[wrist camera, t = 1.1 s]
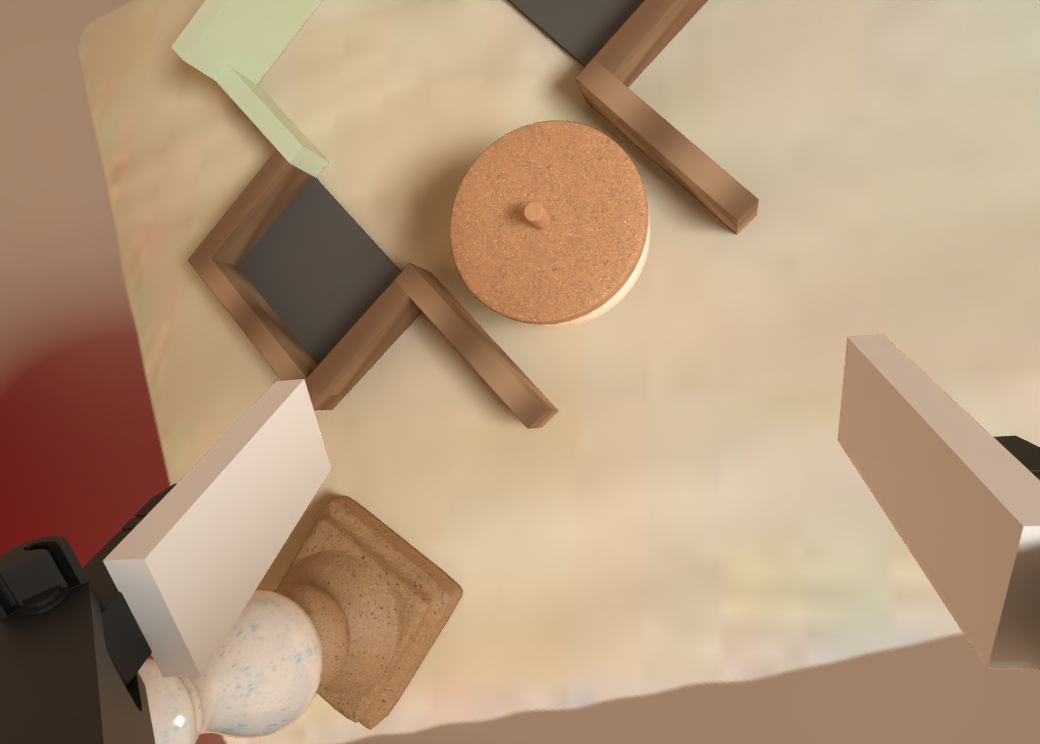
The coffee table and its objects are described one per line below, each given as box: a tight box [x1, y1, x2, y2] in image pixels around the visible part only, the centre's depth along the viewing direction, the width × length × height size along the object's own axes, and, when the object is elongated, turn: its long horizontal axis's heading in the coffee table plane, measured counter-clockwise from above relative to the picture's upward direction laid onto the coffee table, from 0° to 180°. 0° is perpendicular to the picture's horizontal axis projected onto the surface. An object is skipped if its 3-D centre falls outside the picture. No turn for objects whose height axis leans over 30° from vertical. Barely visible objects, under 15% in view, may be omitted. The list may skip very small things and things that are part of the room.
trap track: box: [171, 0, 758, 429], centre depth 41 cm, size 36×39×6 cm
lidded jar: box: [450, 121, 650, 327], centre depth 36 cm, size 11×11×9 cm
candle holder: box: [138, 496, 463, 744], centre depth 33 cm, size 11×11×24 cm
